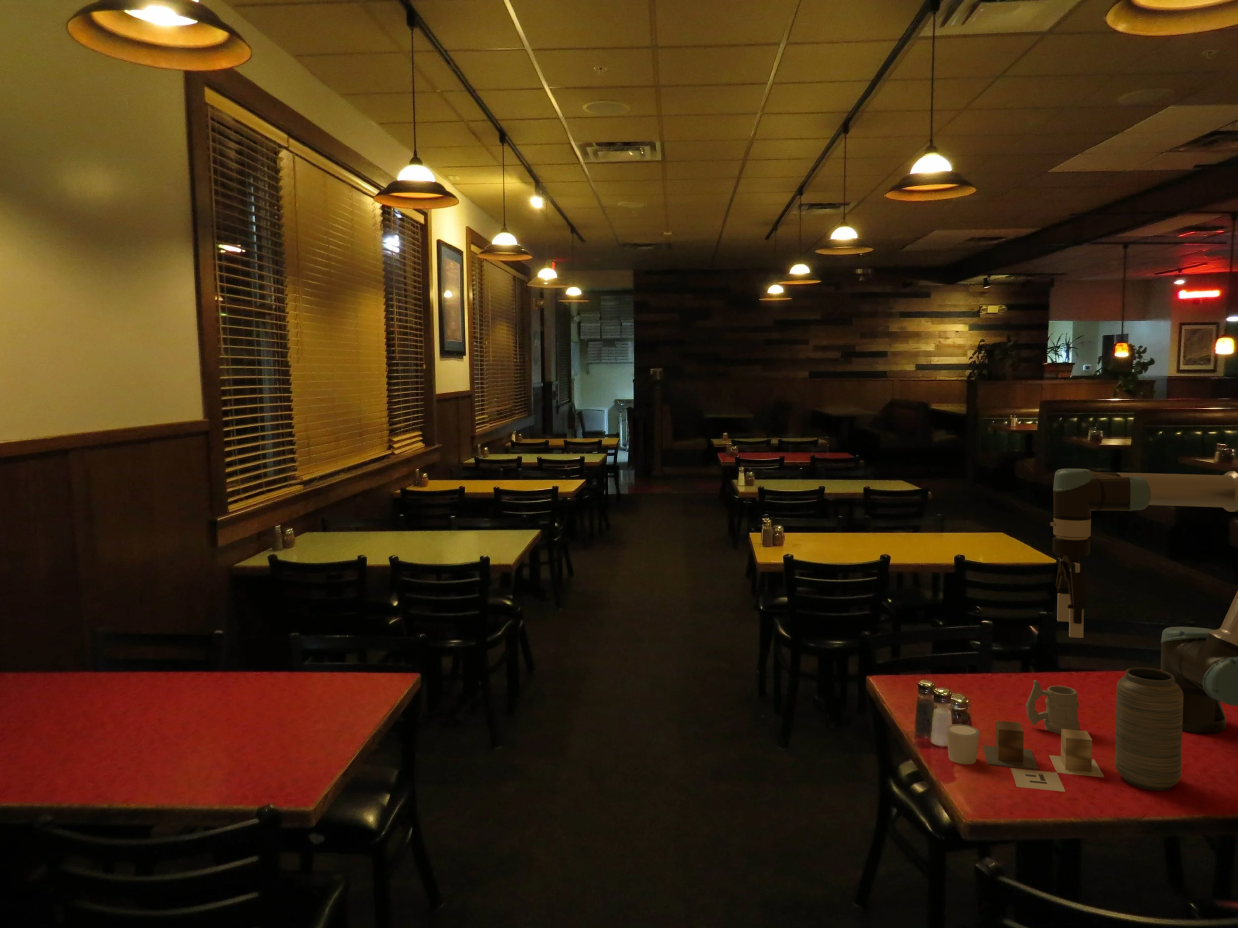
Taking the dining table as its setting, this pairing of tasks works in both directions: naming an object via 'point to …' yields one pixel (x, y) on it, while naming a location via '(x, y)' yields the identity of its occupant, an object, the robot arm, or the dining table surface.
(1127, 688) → the vase
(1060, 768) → the maple tile
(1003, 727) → the walnut block
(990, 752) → the slate coaster
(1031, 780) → the white marker tile
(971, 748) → the beige short cylinder
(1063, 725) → the mug
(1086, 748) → the maple block
